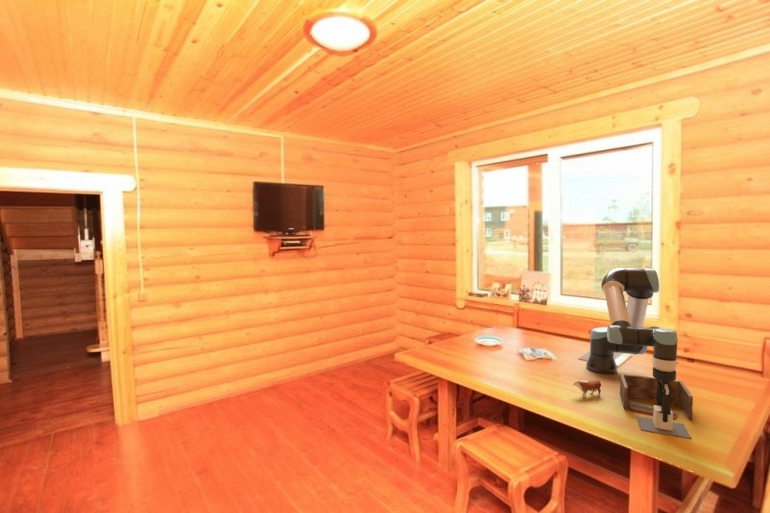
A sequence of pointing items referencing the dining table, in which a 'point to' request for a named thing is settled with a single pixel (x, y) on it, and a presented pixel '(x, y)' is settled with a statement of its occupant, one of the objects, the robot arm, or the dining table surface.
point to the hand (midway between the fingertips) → (662, 425)
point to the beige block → (657, 417)
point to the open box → (654, 391)
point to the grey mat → (677, 430)
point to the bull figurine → (588, 386)
